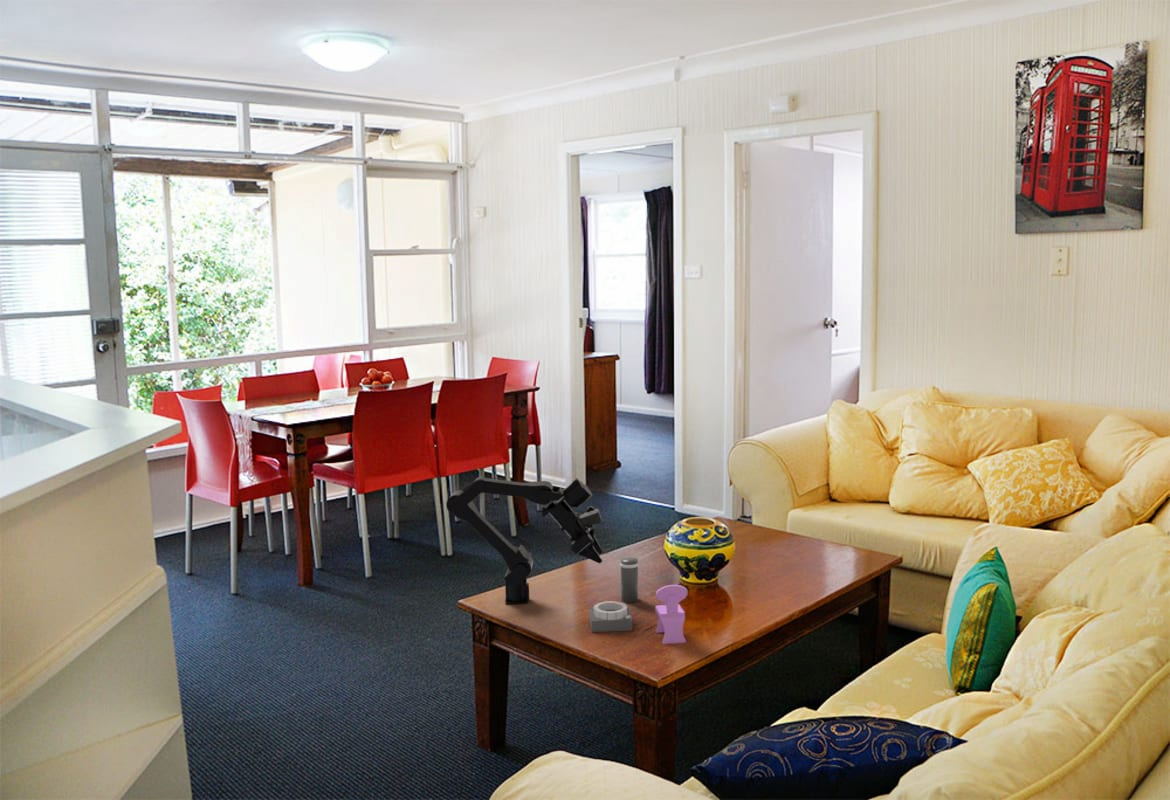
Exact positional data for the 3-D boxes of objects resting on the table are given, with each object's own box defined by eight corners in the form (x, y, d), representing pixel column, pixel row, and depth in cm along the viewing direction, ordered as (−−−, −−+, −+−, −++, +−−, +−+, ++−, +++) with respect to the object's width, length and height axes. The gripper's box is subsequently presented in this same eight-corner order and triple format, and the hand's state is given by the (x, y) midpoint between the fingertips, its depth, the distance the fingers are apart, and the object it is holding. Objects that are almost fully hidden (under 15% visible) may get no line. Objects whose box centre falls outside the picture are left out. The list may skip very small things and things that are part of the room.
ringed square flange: (591, 632, 254) (591, 614, 253) (589, 619, 263) (589, 601, 263) (632, 630, 254) (632, 612, 254) (629, 617, 264) (628, 600, 263)
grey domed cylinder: (621, 603, 275) (620, 563, 274) (620, 597, 280) (619, 557, 279) (639, 602, 275) (638, 562, 274) (637, 596, 281) (637, 557, 279)
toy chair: (682, 629, 254) (681, 575, 252) (690, 642, 246) (689, 586, 244) (651, 631, 253) (651, 577, 251) (658, 644, 245) (658, 588, 243)
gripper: (586, 508, 265) (622, 549, 267) (587, 492, 284) (622, 531, 285) (556, 533, 267) (592, 574, 268) (559, 516, 285) (594, 554, 286)
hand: (601, 557), depth 277 cm, fingers open, 9 cm apart
